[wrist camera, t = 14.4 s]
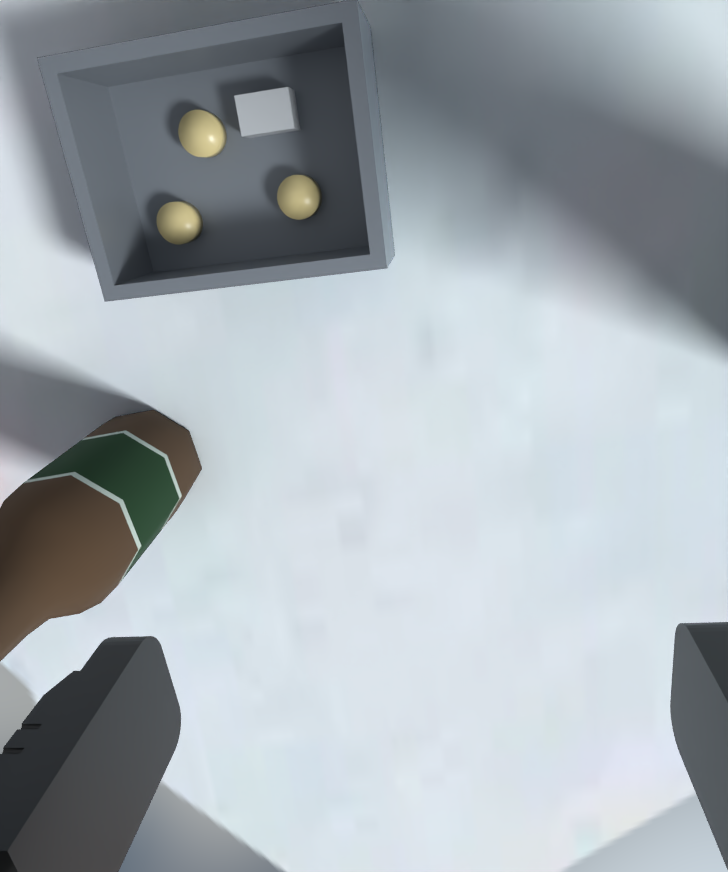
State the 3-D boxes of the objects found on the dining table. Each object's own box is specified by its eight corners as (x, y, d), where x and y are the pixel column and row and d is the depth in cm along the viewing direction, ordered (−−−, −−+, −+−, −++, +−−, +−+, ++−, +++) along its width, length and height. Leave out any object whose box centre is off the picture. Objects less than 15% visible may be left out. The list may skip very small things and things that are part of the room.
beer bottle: (226, 471, 46) (26, 748, 24) (150, 520, 48) (-97, 814, 26) (156, 385, 44) (-135, 599, 22) (80, 440, 46) (-251, 685, 24)
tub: (370, 27, 34) (356, -2, 29) (394, 254, 39) (387, 268, 33) (97, 75, 37) (37, 57, 31) (149, 284, 41) (104, 301, 35)
